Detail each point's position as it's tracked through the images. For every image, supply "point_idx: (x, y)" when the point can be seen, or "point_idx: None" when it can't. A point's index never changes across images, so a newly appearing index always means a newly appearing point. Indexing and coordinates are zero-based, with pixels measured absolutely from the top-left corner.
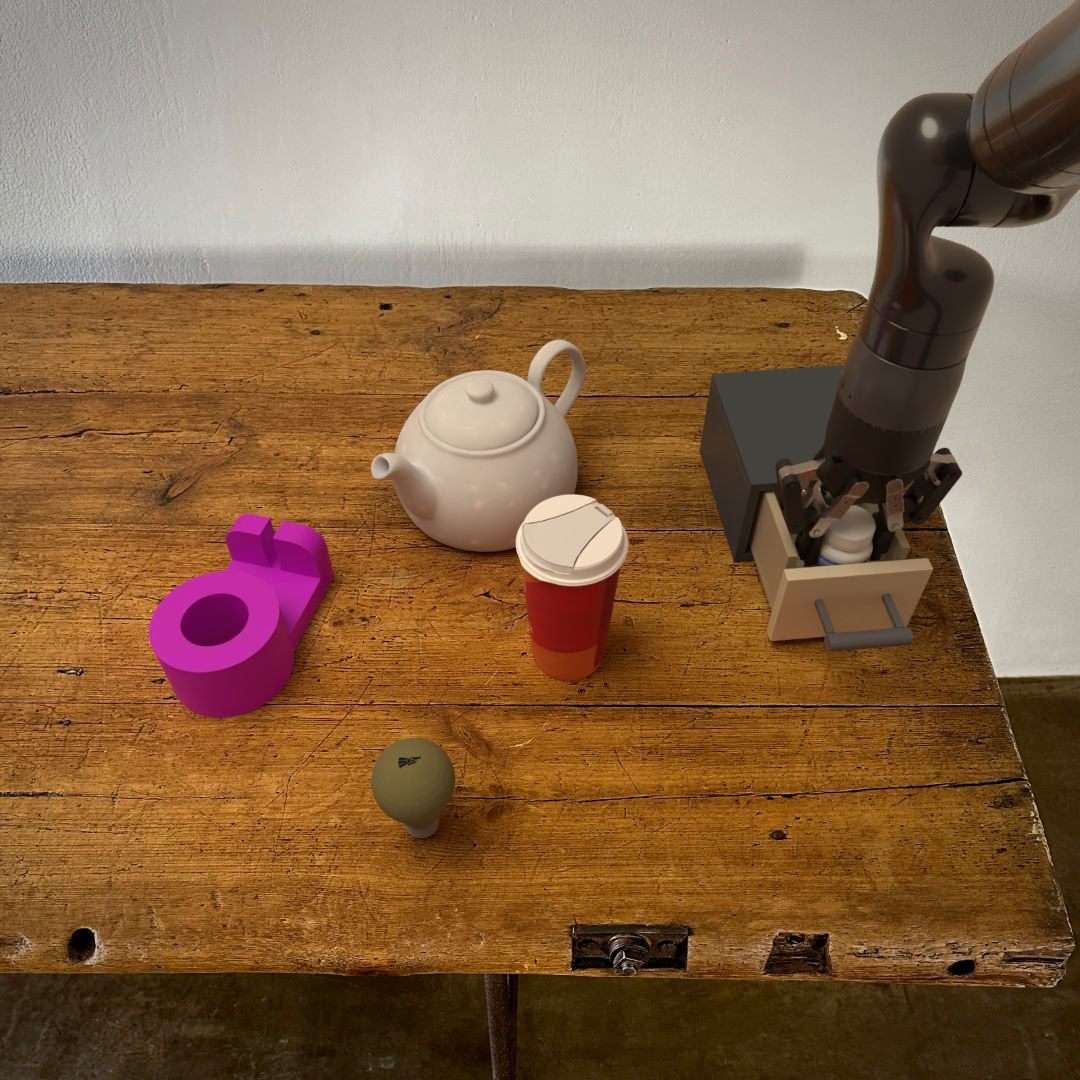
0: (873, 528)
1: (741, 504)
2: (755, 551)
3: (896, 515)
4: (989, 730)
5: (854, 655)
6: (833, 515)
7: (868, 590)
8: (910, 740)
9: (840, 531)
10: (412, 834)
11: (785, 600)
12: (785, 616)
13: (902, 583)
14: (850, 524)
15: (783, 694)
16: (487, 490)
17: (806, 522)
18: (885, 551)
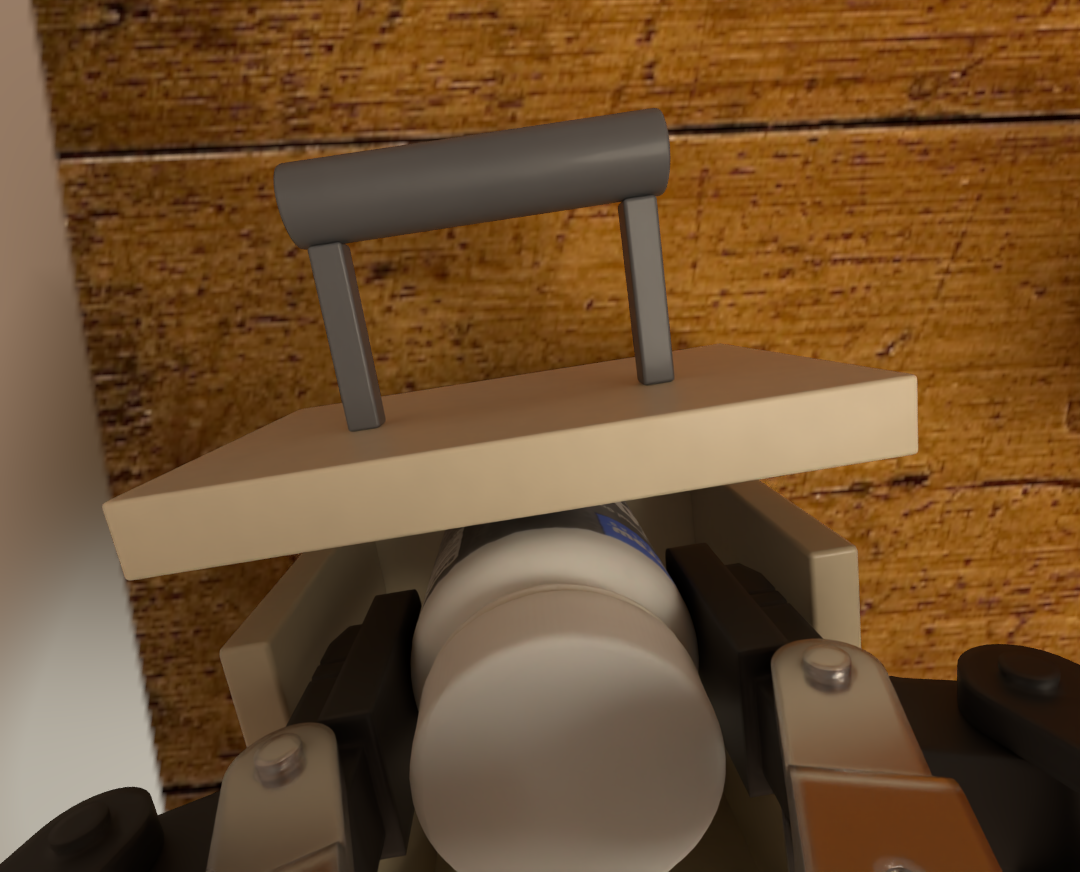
0: (429, 736)
1: None
2: None
3: (260, 859)
4: (76, 57)
5: (461, 329)
6: (910, 815)
7: (450, 422)
8: (332, 9)
9: (651, 694)
10: None
11: (811, 362)
12: (744, 356)
13: (288, 454)
14: (575, 754)
15: (692, 174)
16: None
17: (940, 737)
18: (346, 634)
